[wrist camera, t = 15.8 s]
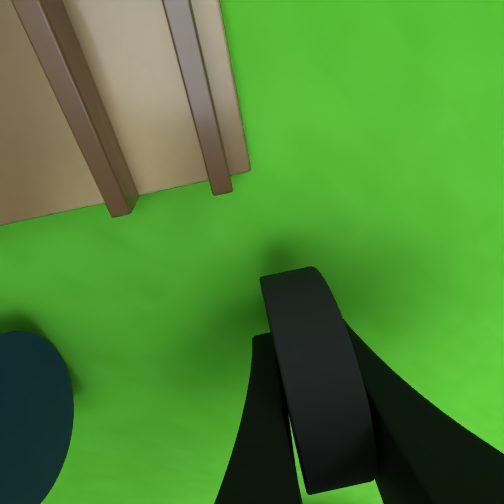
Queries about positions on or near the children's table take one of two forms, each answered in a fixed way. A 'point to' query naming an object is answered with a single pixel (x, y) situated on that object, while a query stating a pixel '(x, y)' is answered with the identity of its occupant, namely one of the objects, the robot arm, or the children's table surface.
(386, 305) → the children's table surface
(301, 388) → the rubber puck
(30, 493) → the navy disc
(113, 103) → the disc rack
